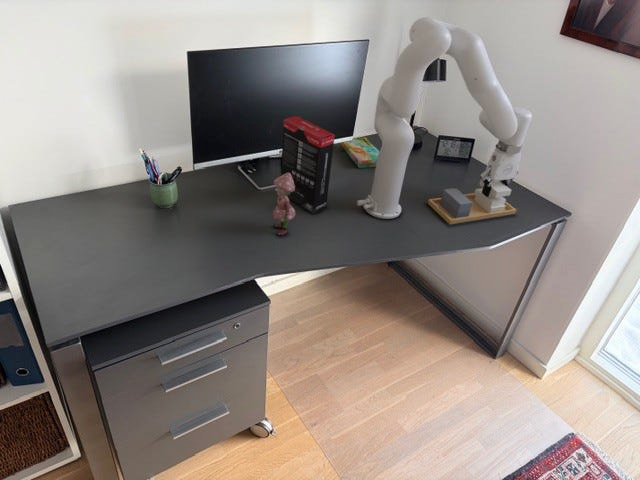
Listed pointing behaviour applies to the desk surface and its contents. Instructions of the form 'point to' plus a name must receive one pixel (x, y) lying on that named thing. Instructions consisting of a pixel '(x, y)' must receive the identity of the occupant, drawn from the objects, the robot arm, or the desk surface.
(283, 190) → the cartoon character
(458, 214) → the blue-gray box
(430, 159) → the desk surface
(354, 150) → the puzzle game
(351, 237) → the desk surface
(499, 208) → the white book
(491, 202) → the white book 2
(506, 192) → the white rectangular lid
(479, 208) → the desk tray
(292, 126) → the graphics card box
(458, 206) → the grey book
